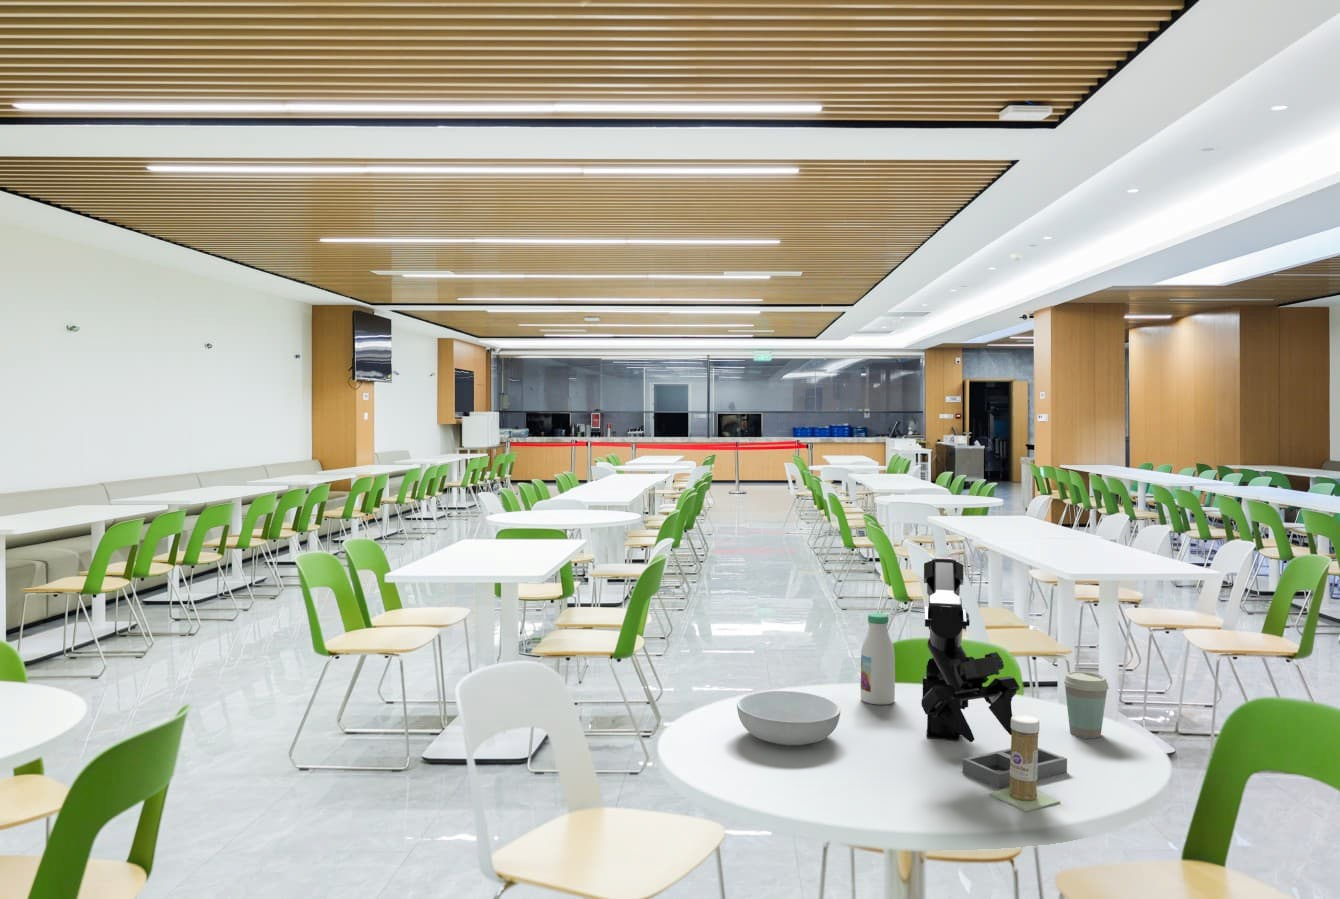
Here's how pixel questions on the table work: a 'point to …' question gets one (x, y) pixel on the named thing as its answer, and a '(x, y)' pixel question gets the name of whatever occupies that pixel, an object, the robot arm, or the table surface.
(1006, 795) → the pad
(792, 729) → the serving bowl
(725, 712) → the table surface
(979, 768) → the tray
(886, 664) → the milk bottle
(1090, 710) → the coffee cup
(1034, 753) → the sprinkles bottle
